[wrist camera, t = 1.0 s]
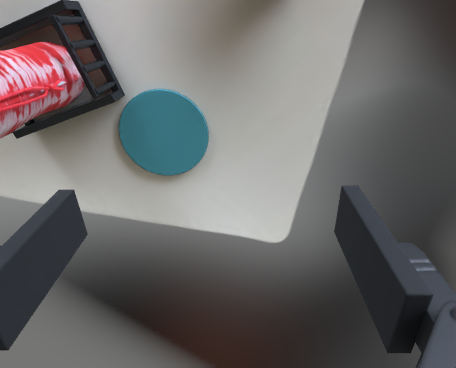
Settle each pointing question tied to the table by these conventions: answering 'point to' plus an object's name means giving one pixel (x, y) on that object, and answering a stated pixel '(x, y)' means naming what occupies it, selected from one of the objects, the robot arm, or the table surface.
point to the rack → (58, 17)
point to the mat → (163, 132)
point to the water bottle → (35, 83)
